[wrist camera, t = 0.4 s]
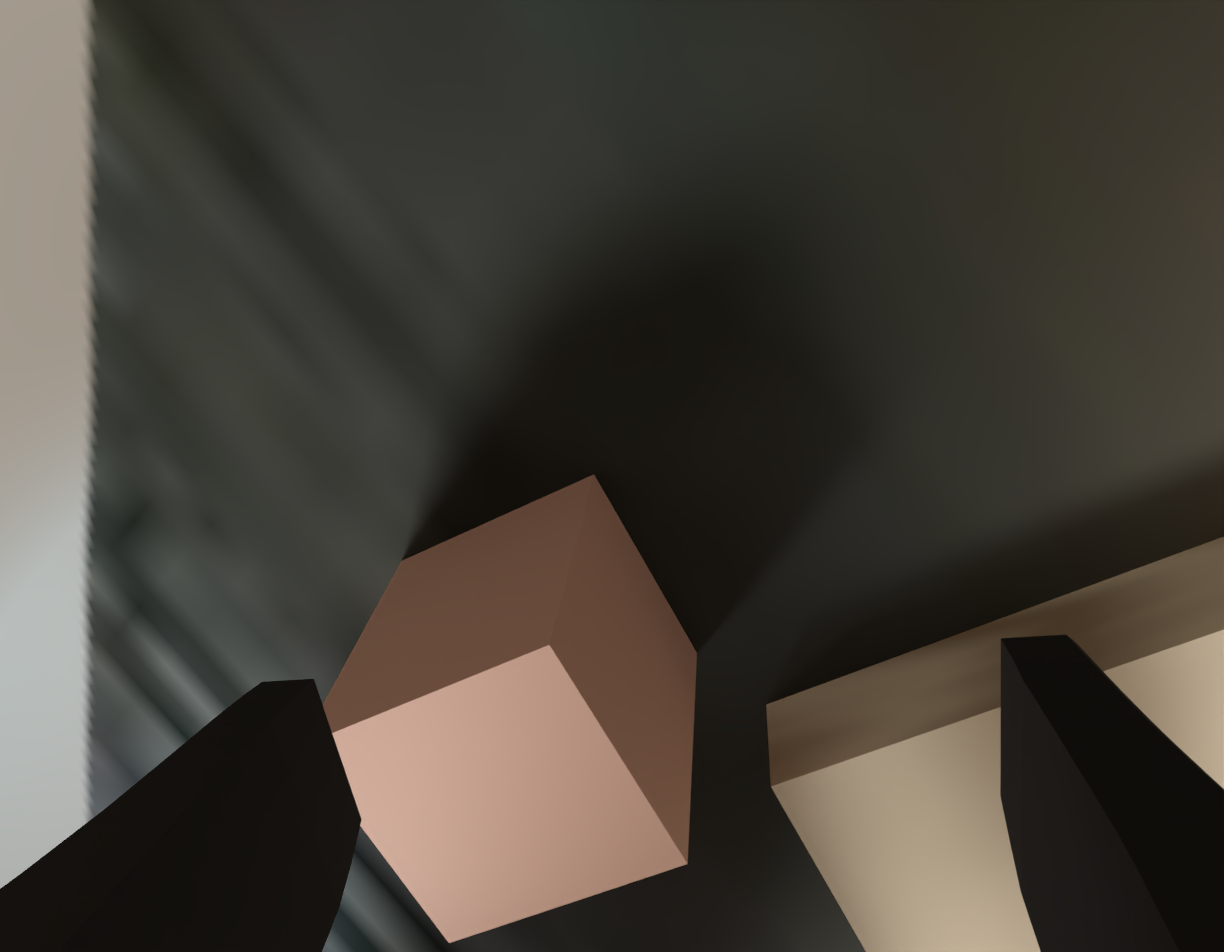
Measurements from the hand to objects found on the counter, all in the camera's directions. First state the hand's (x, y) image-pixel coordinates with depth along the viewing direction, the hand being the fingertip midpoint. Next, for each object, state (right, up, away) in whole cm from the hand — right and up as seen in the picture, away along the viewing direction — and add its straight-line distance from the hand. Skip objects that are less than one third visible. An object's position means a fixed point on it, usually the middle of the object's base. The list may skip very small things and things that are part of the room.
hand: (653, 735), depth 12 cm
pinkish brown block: (-2, 0, +11) cm, 11 cm away
